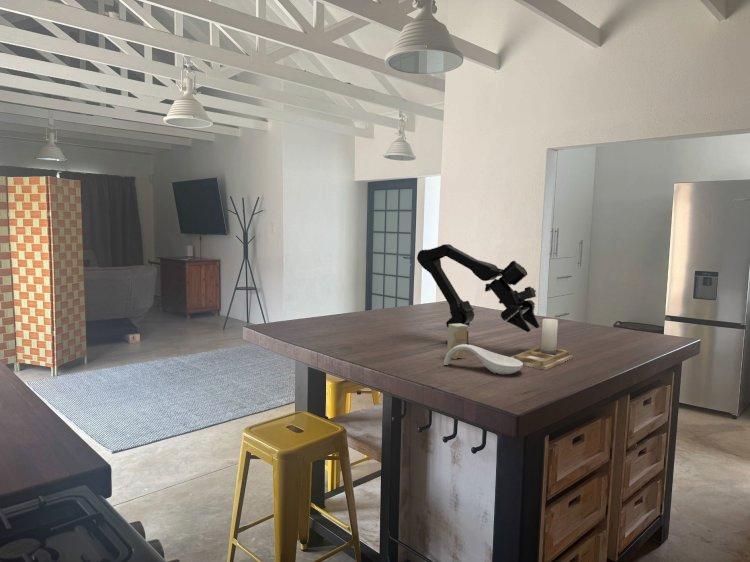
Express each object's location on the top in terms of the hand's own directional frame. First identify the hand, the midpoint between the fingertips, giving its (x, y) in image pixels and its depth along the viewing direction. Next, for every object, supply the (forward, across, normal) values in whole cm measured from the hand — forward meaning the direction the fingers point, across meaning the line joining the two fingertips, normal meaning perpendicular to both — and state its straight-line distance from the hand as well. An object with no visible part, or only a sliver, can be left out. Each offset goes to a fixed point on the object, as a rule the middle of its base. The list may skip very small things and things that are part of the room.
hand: (533, 329), depth 180 cm
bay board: (+9, -5, +4) cm, 11 cm away
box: (-6, -19, +20) cm, 29 cm away
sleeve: (+9, 0, +2) cm, 10 cm away
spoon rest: (+3, -28, +11) cm, 30 cm away
